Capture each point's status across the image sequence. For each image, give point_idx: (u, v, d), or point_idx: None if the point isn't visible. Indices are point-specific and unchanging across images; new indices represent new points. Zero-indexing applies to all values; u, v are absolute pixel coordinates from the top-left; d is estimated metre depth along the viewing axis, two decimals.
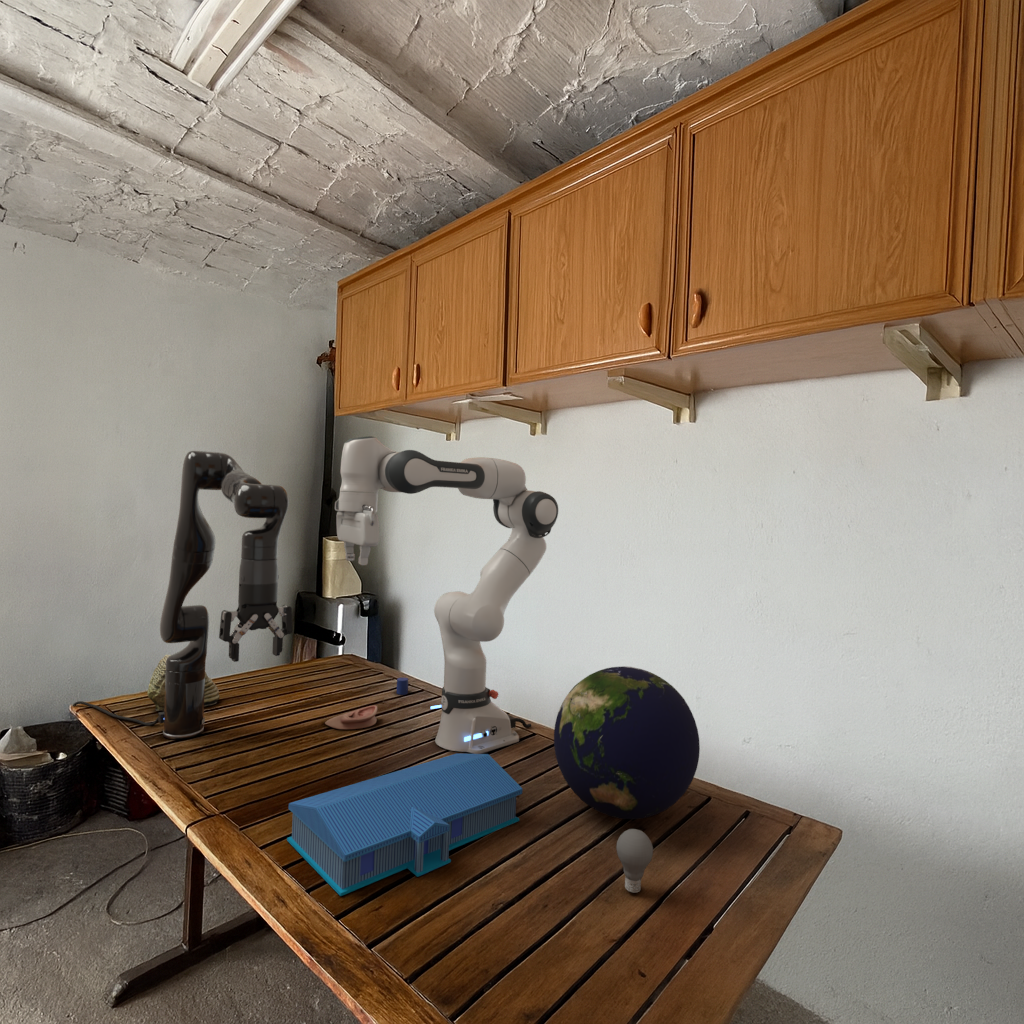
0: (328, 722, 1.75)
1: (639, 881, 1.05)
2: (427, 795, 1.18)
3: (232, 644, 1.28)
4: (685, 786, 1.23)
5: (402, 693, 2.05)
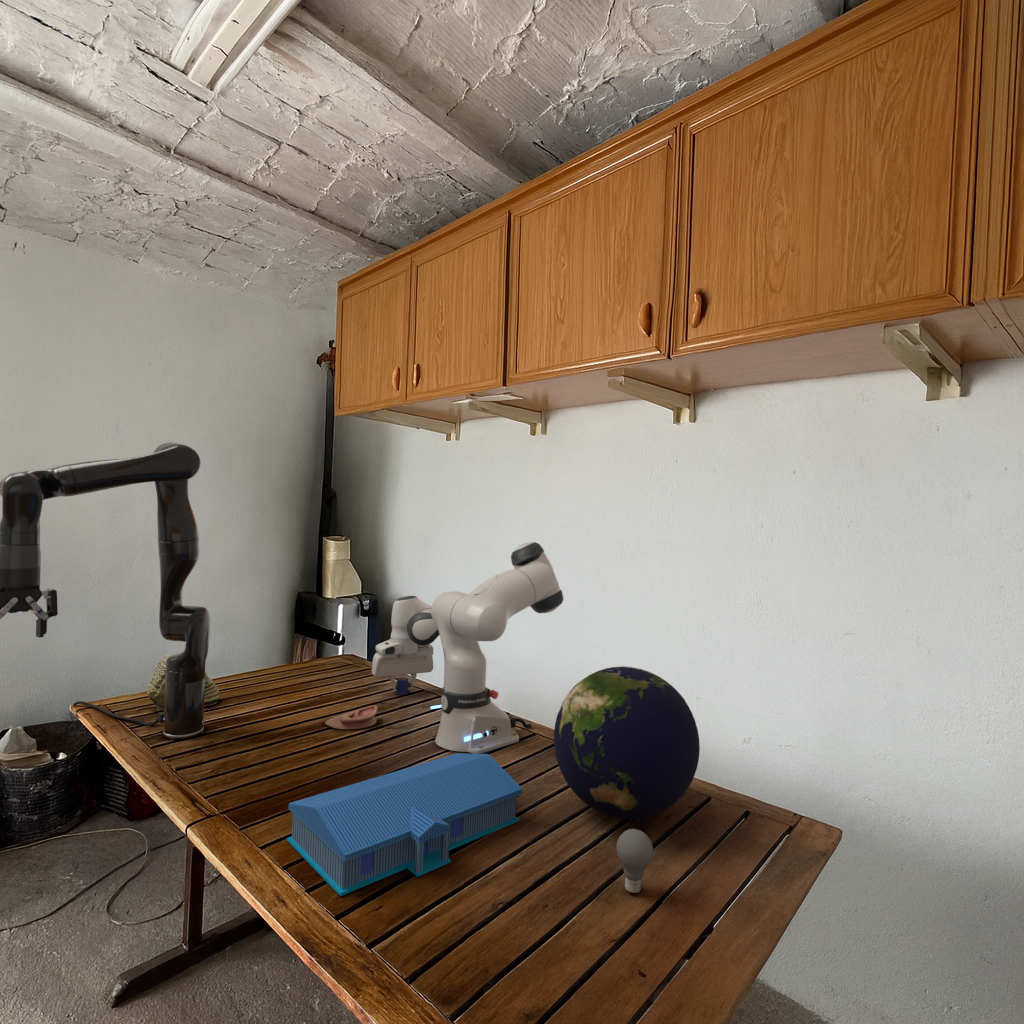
0: (328, 722, 1.75)
1: (639, 881, 1.05)
2: (427, 795, 1.18)
3: None
4: (685, 786, 1.23)
5: (402, 693, 2.05)
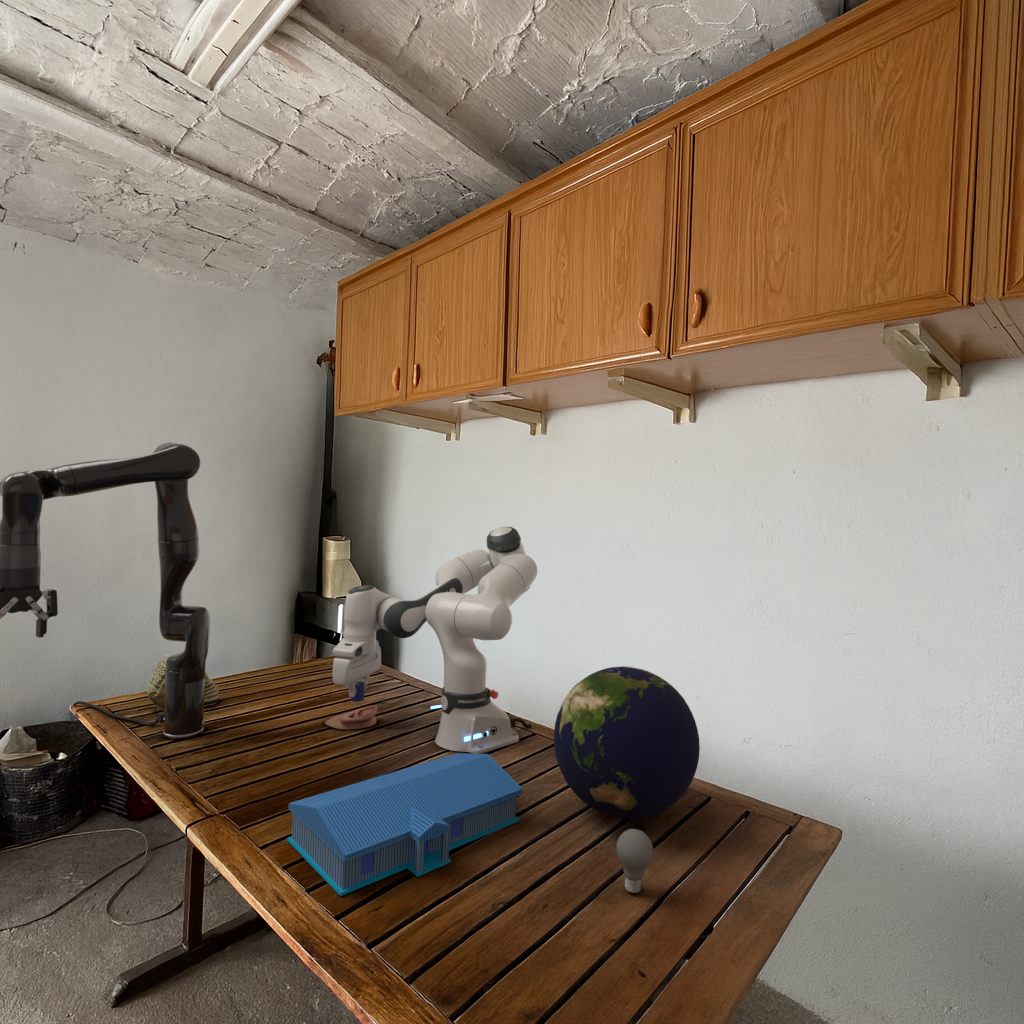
0: (328, 722, 1.75)
1: (639, 881, 1.05)
2: (427, 795, 1.18)
3: None
4: (685, 786, 1.23)
5: (361, 699, 1.75)
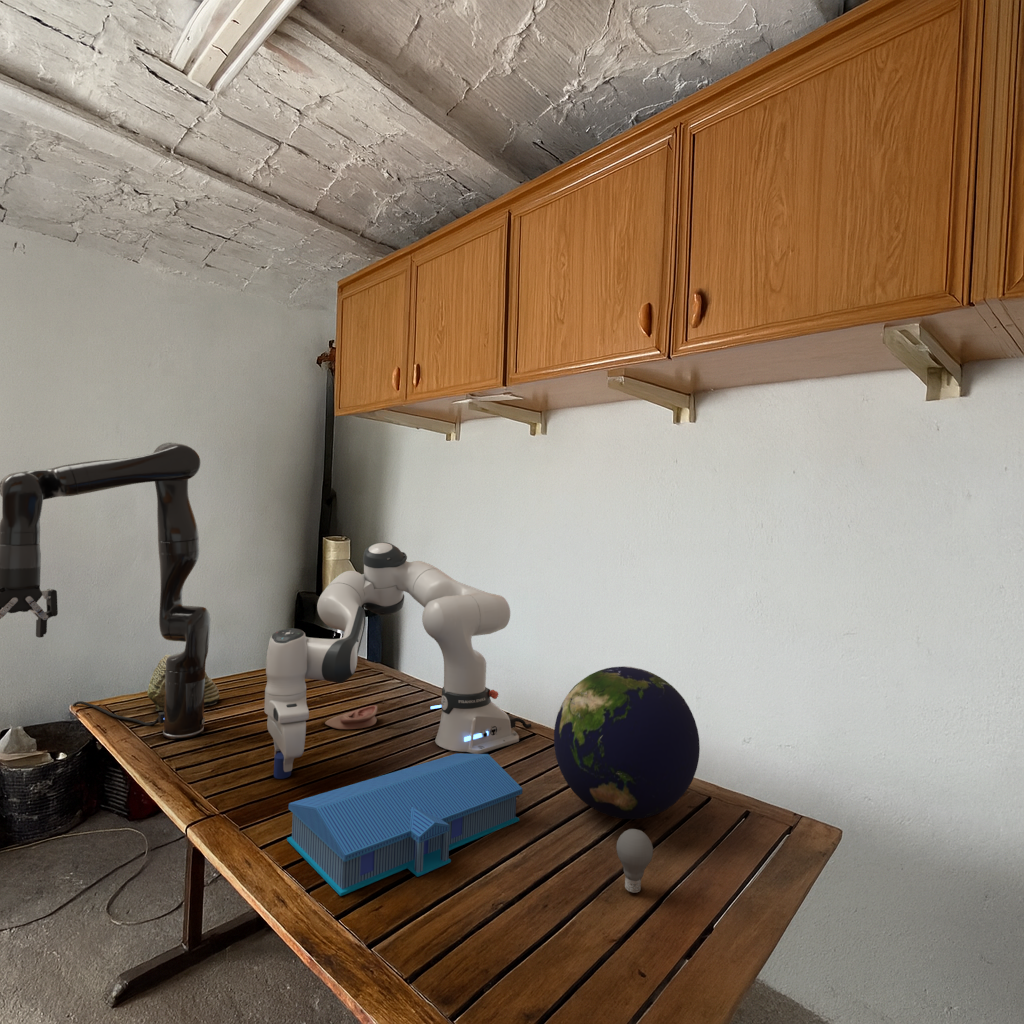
0: (328, 722, 1.75)
1: (639, 881, 1.05)
2: (427, 795, 1.18)
3: None
4: (685, 786, 1.23)
5: (290, 773, 1.43)
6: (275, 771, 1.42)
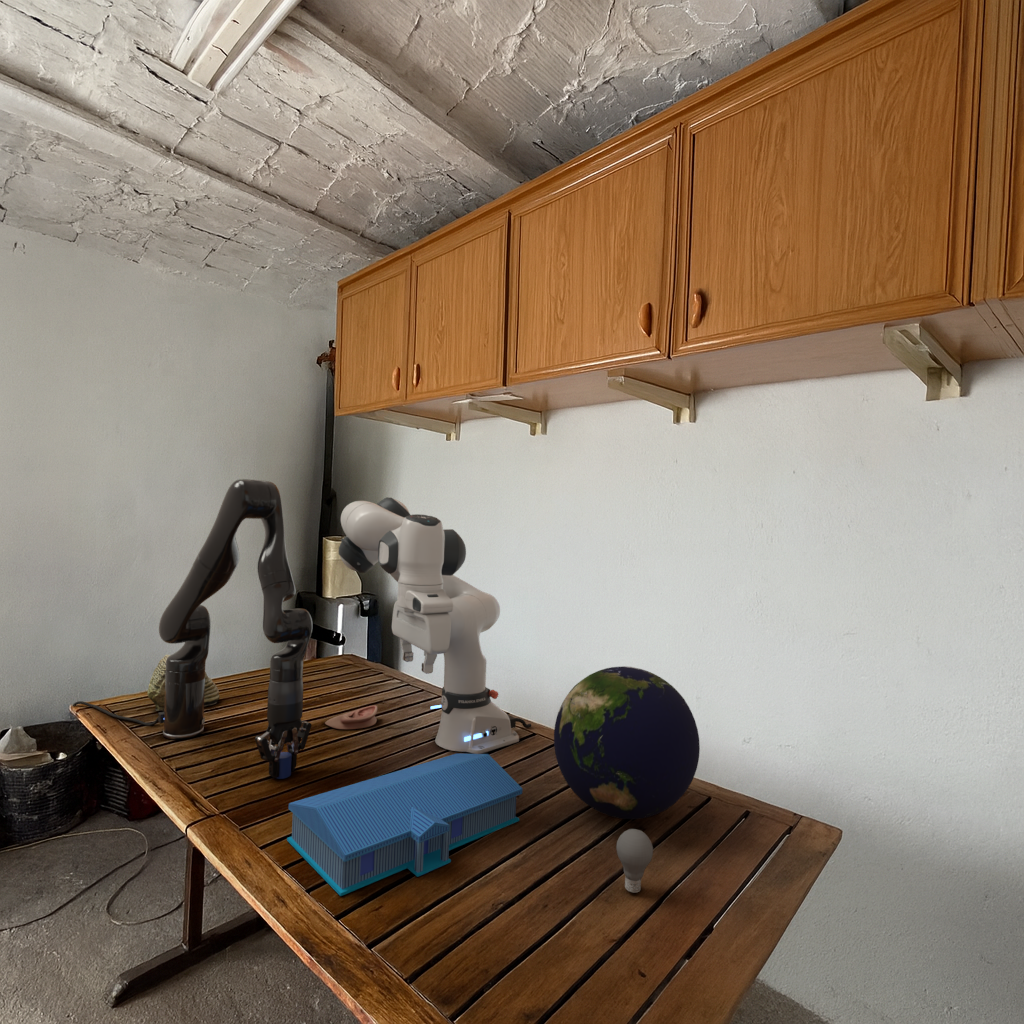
0: (328, 722, 1.75)
1: (639, 881, 1.05)
2: (427, 795, 1.18)
3: None
4: (685, 786, 1.23)
5: (290, 773, 1.43)
6: None
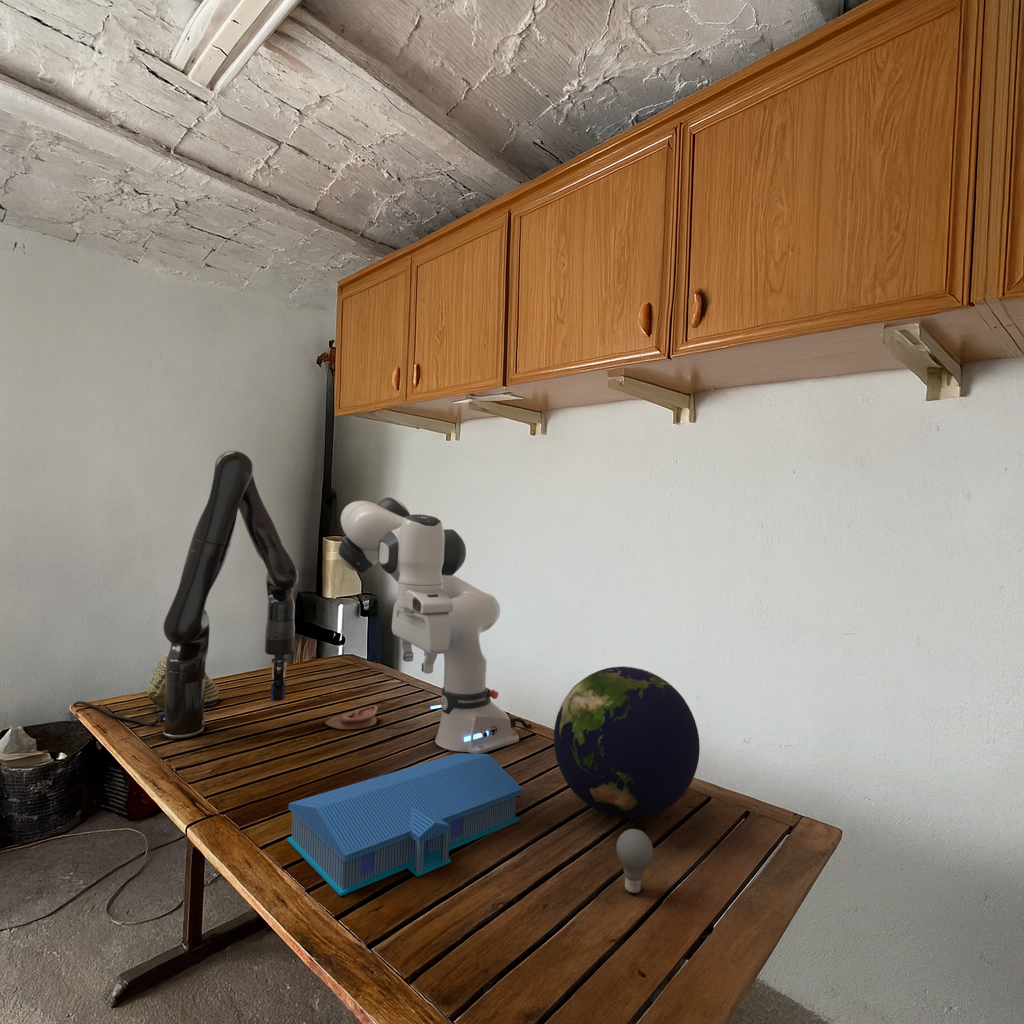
0: (328, 722, 1.75)
1: (639, 881, 1.05)
2: (427, 795, 1.18)
3: None
4: (685, 786, 1.23)
5: None
6: None
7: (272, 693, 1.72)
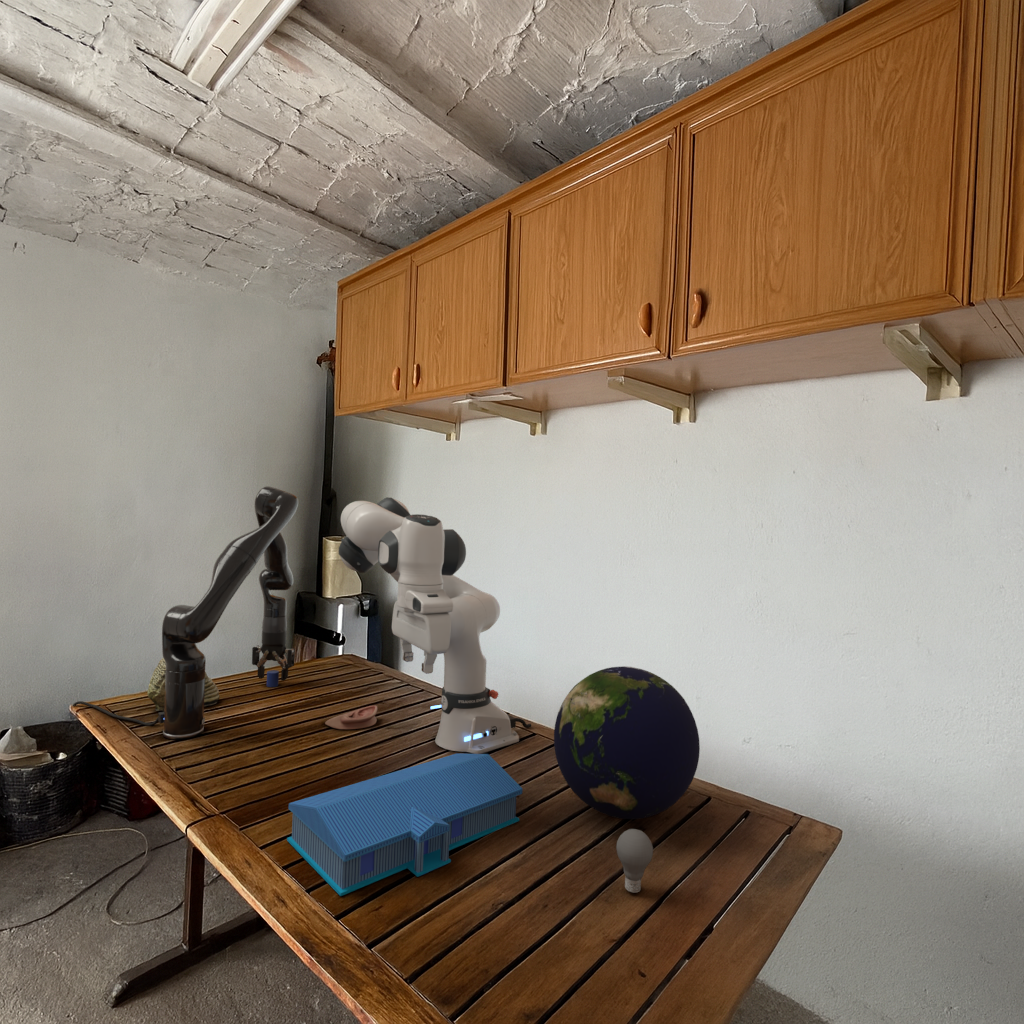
0: (328, 722, 1.75)
1: (639, 881, 1.05)
2: (427, 795, 1.18)
3: (258, 667, 2.08)
4: (685, 786, 1.23)
5: None
6: (277, 681, 2.08)
7: (273, 681, 2.07)
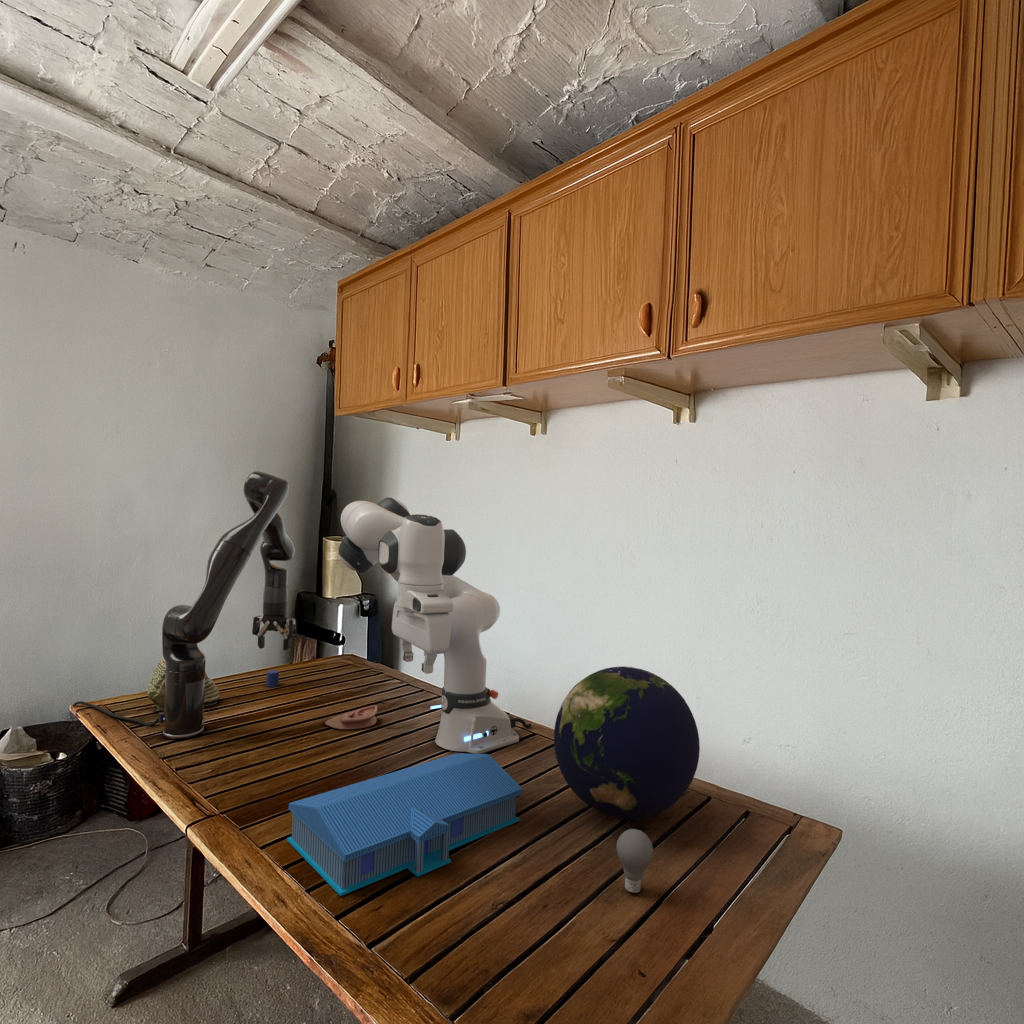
0: (328, 722, 1.75)
1: (639, 881, 1.05)
2: (427, 795, 1.18)
3: (258, 637, 2.08)
4: (685, 786, 1.23)
5: None
6: (277, 681, 2.08)
7: (273, 681, 2.07)
